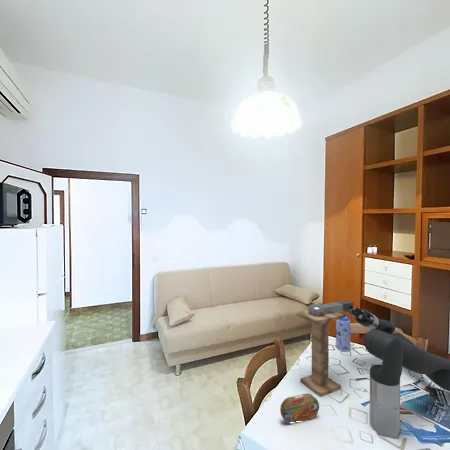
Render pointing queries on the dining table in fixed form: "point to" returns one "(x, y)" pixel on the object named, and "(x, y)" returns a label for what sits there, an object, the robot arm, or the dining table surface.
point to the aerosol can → (343, 334)
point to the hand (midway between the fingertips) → (347, 307)
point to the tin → (299, 408)
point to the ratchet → (329, 308)
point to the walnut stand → (320, 354)
